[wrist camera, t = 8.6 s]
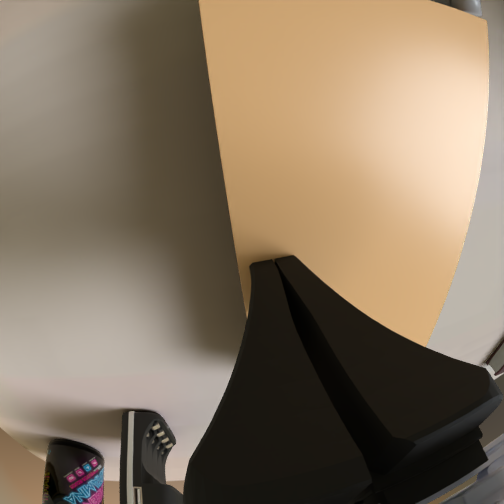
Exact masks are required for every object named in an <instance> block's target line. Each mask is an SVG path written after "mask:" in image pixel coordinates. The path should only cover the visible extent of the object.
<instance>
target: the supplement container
mask: <svg viewBox="0 0 504 504" xmlns="http://www.w3.org/2000/svg"><path fill="white" fill-rule="evenodd" d="M42 504H104V458H103V456H102V455H101V453H100V452H99V451H97V450H96V449H94V448H92V447H90V446H88V445H85V444H82V443H79V442H75V441H71V440H65V439H55V440H53V441H51V442H50V443H49V445H48V448H47V456H46V465H45V474H44V485H43V501H42Z"/></svg>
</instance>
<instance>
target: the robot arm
mask: <svg viewBox="0 0 504 504" xmlns="http://www.w3.org/2000/svg"><path fill="white" fill-rule="evenodd" d="M249 269H250V275H251V295H250V304H249V311H248V317H247V322H246V327H245V332H244V336H243V340H242V344H241V347H240V351H239V354H238V357H237V361H236V364H235V366H234V369H233V372H232V375H231V378H230V380H229V383H228V385H227V388H226V390H225V393H224V395H223V397H222V399H221V402H220V404H219V406H218V408H217V410H216V412H215V414H214V417H213V419H212V421H211V423H210V425H209V427H208V429H207V430H206V432H205V434H204V436H203V437H202V439H201V441H200V443H199V444H198V446H197V448H196V449H195V451H194V453H193V455H192V456H191V458H190V460H189V464H188V468H187V472H186V477H185V483H184V492H183V504H427V503H429V502H431V501H433V500H435V499H436V498H438V497H440V496H442V495H444V494H445V493H447V492H449V491H451V490H452V489H454V488H455V487H457V486H459V485H460V484H462V483H464V482H465V481H467V480H468V479H470V478H471V477H473V476H474V475H476V474H477V473H478V475H477V480H476V482H474V483H473V484H471V485H469V486H467V487H466V488H464V489H462V490H461V491H459V492H457V493H455V494H454V495H452V496H450V497H449V498H447V499H445V500H444V501H442V502H441V503H439V504H504V433H503V434H502V435H501V436H499V437H498V438H497V439H495V440H494V441H492V442H491V443H490V444H488V445H487V446H485V447H484V448H483V447H482V445H481V443H480V441H479V439H480V438H482V432H481V430H480V428H479V425H480V424H481V423H482V422H483V421H484V420H485V419H486V418H487V417H488V416H489V415H490V414H491V413H492V412H493V411H494V410H495V409H496V408H497V407H498V406H499V404H500V403H501V401H502V398H503V394H502V392H501V391H500V389H499V387H498V386H497V384H496V383H495V381H494V380H493V378H492V377H491V375H490V374H489V372H488V371H487V370H486V368H483V367H479V366H476V365H473V364H470V363H466V362H463V361H460V360H457V359H454V358H451V357H448V356H446V355H443V354H441V353H438V352H436V351H433V350H431V349H428V348H426V347H424V346H422V345H420V344H417V343H415V342H413V341H411V340H409V339H407V338H405V337H403V336H401V335H399V334H398V333H396V332H394V331H392V330H390V329H388V328H387V327H385V326H383V325H382V324H380V323H379V322H377V321H375V320H374V319H372V318H371V317H369V316H368V315H366V314H365V313H363V312H362V311H360V310H359V309H357V308H356V307H355V306H353V305H352V304H351V303H349V302H348V301H347V300H345V299H344V298H343V297H342V296H340V295H339V294H338V293H337V292H335V291H334V290H333V289H332V288H331V287H329V286H328V285H327V284H326V283H324V282H323V281H322V280H321V279H320V278H319V277H318V276H317V275H315V274H314V273H313V272H312V271H311V270H310V269H309V268H308V267H307V266H306V265H305V264H303V263H302V262H301V261H300V260H299V259H298V258H297V257H296V256H294V255H291V256H286V257H281V258H275V263H274V262H273V260H272V259H270V260H264V261H259V262H253V263H252V264H251V265H250V266H249Z"/></svg>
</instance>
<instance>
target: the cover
mask: <svg viewBox="0 0 504 504" xmlns="http://www.w3.org/2000/svg"><path fill="white" fill-rule="evenodd" d="M198 2H199V10H200V17H201V25H202V32H203V40H204V47H205V54H206V62H207V69H208V76H209V83H210V90H211V97H212V104H213V111H214V117H215V124H216V131H217V138H218V144H219V151H220V157H221V164H222V170H223V177H224V183H225V190H226V196H227V202H228V209H229V215H230V221H231V227H232V233H233V240H234V246H235V252H236V258H237V264H238V270H239V276H240V282H241V288H242V293H243V299H244V305H245V311H246V317H248V311H249V304H250V295H251V275H250V269H249V266H250V265H251V264H252V263H253V262H259V261H264V260H270V259H272V260H273V262H274V263H275V258H281V257H286V256H291V255H294V256H296V257H297V258H298V259H299V260H300V261H301V262H302V263H303V264H305V265H306V266H307V267H308V268H309V269H310V270H311V271H312V272H313V273H314V274H315V275H317V276H318V277H319V278H320V279H321V280H322V281H323V282H324V283H326V284H327V285H328V286H329V287H331V288H332V289H333V290H334V291H335V292H337V293H338V294H339V295H340V296H342V297H343V298H344V299H345V300H347V301H348V302H349V303H351V304H352V305H353V306H355V307H356V308H357V309H359V310H360V311H362V312H363V313H365V314H366V315H368V316H369V317H371V318H372V319H374V320H375V321H377V322H379V323H380V324H382V325H383V326H385V327H387V328H388V329H390V330H392V331H394V332H396V333H398V334H399V335H401V336H403V337H405V338H407V339H409V340H411V341H413V342H415V343H417V344H420V345H422V346H424V347H426V345H427V343H428V341H429V339H430V336H431V334H432V332H433V329H434V327H435V325H436V322H437V320H438V317H439V315H440V312H441V310H442V307H443V305H444V302H445V299H446V297H447V294H448V291H449V289H450V286H451V283H452V280H453V277H454V274H455V271H456V268H457V265H458V262H459V259H460V255H461V252H462V249H463V245H464V242H465V238H466V234H467V231H468V227H469V223H470V219H471V215H472V210H473V206H474V201H475V197H476V192H477V187H478V182H479V176H480V170H481V164H482V157H483V150H484V143H485V134H486V124H487V112H488V95H489V45H488V29H487V21H486V20H484V19H482V18H479V17H477V16H474V15H472V14H469V13H466V12H464V11H461V10H458V9H455V8H452V7H449V6H446V5H443V4H440V3H437V2H434V1H430V0H198Z"/></svg>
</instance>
